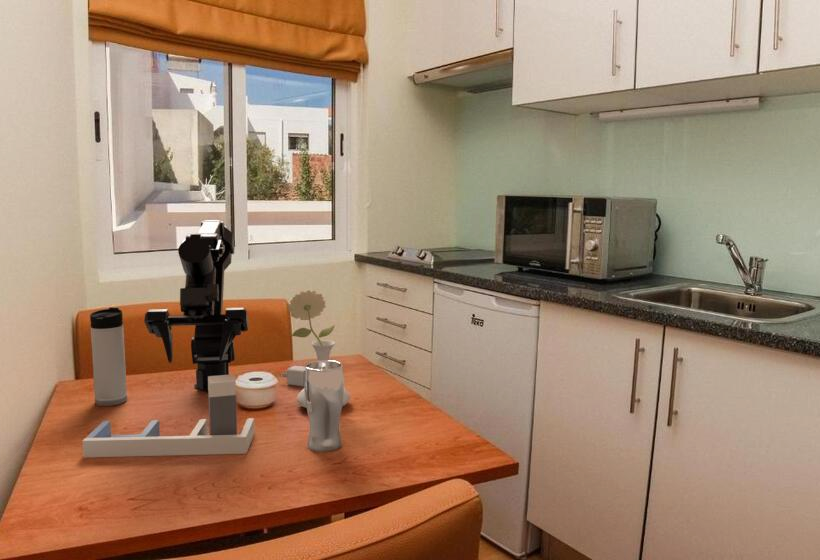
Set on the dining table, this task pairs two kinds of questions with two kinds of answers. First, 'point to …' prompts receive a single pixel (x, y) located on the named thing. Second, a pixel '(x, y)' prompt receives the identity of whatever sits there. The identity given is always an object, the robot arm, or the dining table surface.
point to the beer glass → (324, 403)
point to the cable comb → (165, 442)
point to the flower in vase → (305, 309)
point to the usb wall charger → (295, 376)
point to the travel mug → (108, 357)
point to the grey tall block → (222, 405)
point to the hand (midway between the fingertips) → (195, 361)
